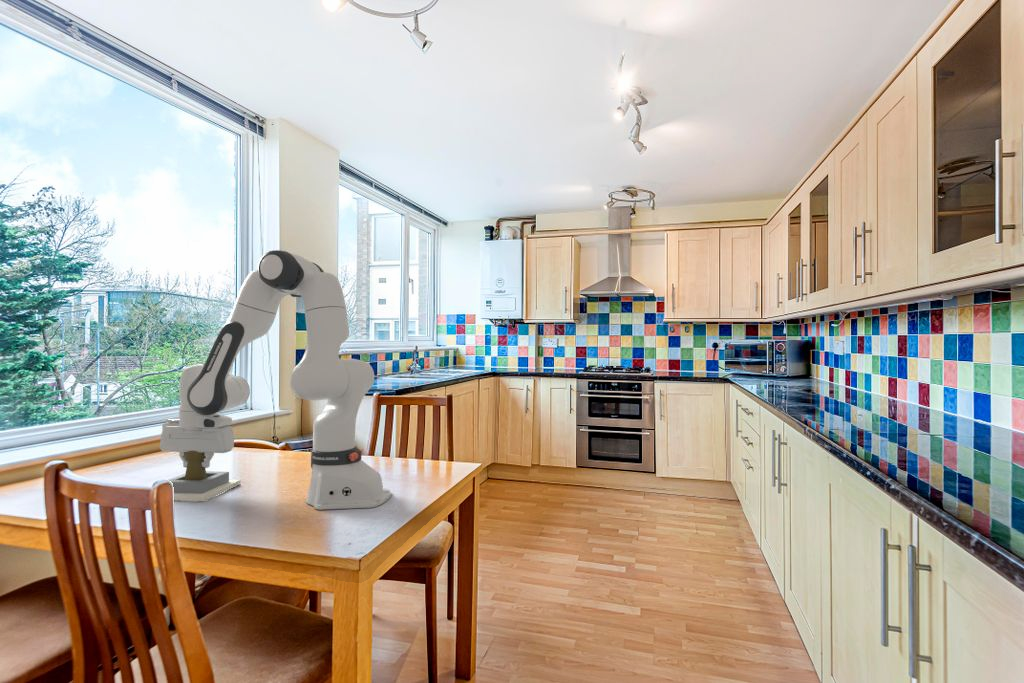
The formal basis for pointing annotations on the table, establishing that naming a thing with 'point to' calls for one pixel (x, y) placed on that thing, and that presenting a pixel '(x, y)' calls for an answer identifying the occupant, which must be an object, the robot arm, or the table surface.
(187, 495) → the socket board
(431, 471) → the table surface
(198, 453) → the cork
